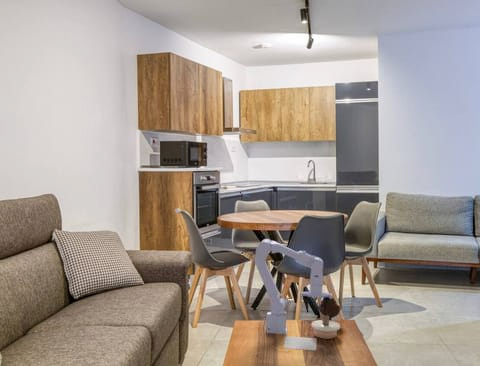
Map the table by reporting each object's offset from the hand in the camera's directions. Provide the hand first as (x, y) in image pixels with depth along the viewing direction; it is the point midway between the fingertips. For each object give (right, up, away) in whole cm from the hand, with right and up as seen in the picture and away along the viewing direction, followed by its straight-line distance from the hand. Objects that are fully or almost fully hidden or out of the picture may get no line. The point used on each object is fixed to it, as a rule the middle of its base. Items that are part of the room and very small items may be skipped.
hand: (315, 312), depth 231 cm
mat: (-9, -11, -12) cm, 18 cm away
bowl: (+4, -11, -3) cm, 12 cm away
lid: (+4, -5, -3) cm, 8 cm away
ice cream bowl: (+9, -10, +13) cm, 18 cm away
